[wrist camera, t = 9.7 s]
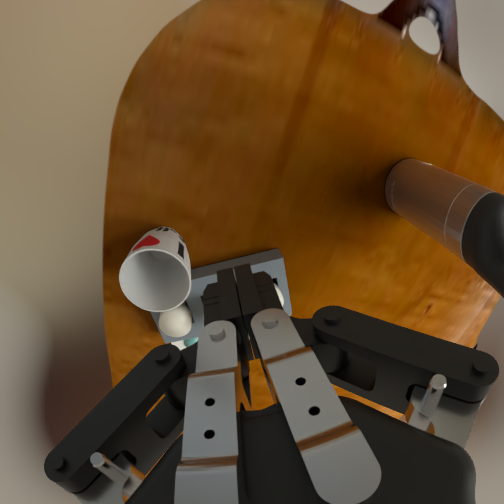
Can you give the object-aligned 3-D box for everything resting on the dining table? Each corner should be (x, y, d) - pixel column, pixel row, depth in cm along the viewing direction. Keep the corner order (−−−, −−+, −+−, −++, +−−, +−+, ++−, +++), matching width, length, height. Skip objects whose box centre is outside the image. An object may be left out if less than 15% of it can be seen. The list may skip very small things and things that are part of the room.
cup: (200, 224, 41) (199, 259, 32) (185, 275, 44) (182, 318, 35) (141, 209, 39) (124, 240, 30) (131, 262, 42) (115, 303, 33)
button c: (186, 289, 44) (185, 308, 40) (195, 314, 46) (195, 333, 42) (157, 296, 44) (153, 315, 40) (167, 320, 46) (165, 339, 42)
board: (278, 248, 44) (283, 257, 41) (287, 303, 49) (292, 314, 46) (144, 280, 43) (141, 291, 40) (166, 331, 48) (165, 343, 45)
